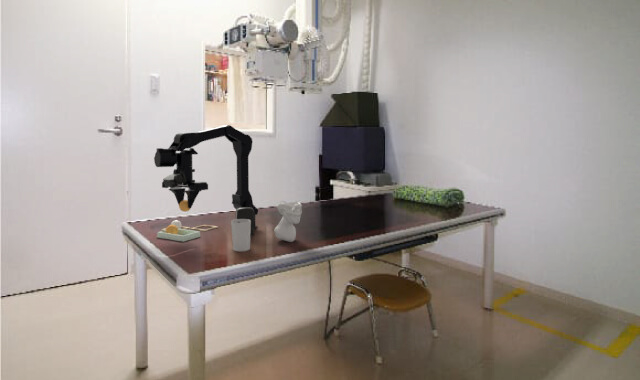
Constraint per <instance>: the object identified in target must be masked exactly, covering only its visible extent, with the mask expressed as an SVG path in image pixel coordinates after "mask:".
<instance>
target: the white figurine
mask: <svg viewBox="0 0 640 380" xmlns="http://www.w3.org/2000/svg"><path fill="white" fill-rule="evenodd" d="M302 207H303V204H302V202H299V201H298V200H293V201H290V202H286V201H285V200H282V201H280V202H279V203H278V205H277V211H278V213H279V214H281V215H282V217H281V219H280V221H279V222H278V224H277V225H276V227H275V228H274V230H273V232H274V235H275V237H276V238H277V239H279V240H281V241H285V242H288V243H293V242H294V241H295V240H296V236H297V229H296V227H295V226H294V224H295V225H297V224H299V223H300V221H301V216H302V213H303V210H302Z"/></svg>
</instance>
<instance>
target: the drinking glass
mask: <svg viewBox="0 0 640 380" xmlns="http://www.w3.org/2000/svg"><path fill="white" fill-rule="evenodd" d="M230 223H231V225H230V226H231V238H232V240H231V241H232V250H233V251H235V252H246V251H249V250H251V236H250V232H251V220H249V219H236V218H235V219H232V220H231V221H230Z"/></svg>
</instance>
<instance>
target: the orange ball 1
mask: <svg viewBox="0 0 640 380" xmlns="http://www.w3.org/2000/svg"><path fill="white" fill-rule="evenodd" d="M165 228H166V233H170V234H177V233H178V228H177V226H175V225H171V224H169V225H168V226H167V227H165Z"/></svg>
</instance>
